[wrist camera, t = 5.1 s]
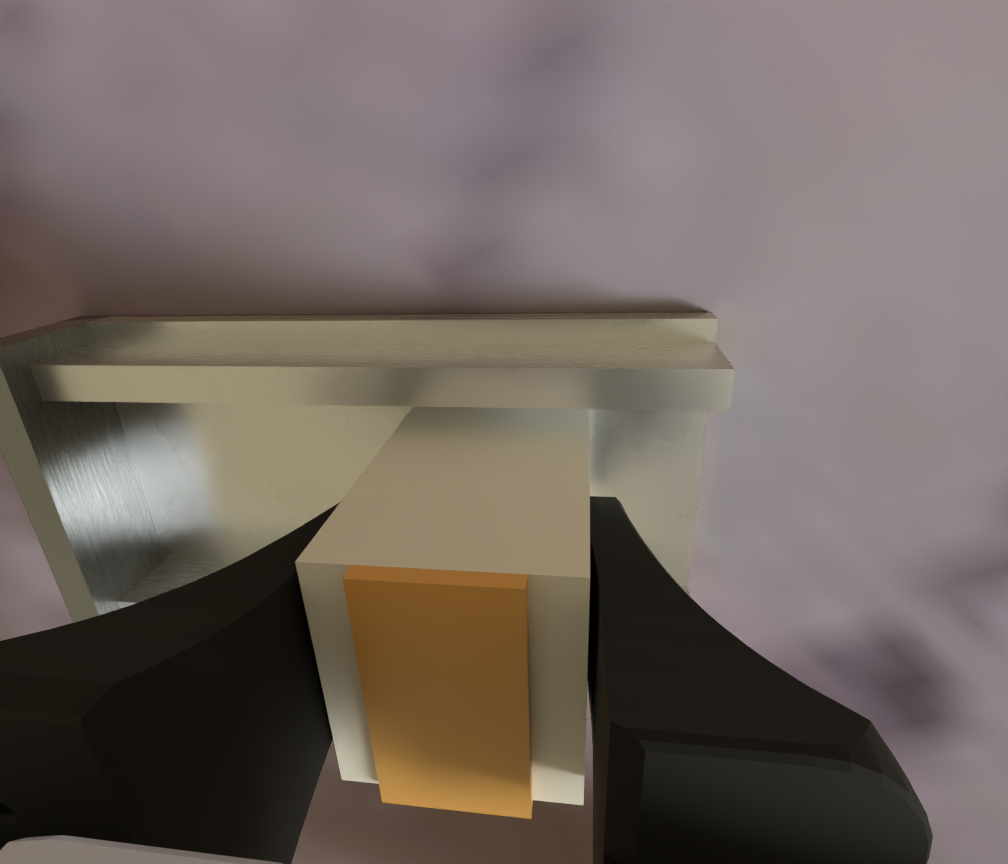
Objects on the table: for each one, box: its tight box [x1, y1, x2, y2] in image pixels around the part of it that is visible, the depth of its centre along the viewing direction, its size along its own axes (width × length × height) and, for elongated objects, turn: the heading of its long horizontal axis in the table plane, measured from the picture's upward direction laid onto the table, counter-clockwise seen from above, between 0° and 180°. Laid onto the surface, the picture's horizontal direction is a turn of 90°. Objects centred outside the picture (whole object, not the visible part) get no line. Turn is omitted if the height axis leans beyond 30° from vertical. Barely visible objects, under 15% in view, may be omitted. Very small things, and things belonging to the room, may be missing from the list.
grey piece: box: [0, 312, 735, 623], centre depth 14 cm, size 15×8×3 cm, turn 92°
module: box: [295, 407, 590, 819], centre depth 11 cm, size 4×4×6 cm
